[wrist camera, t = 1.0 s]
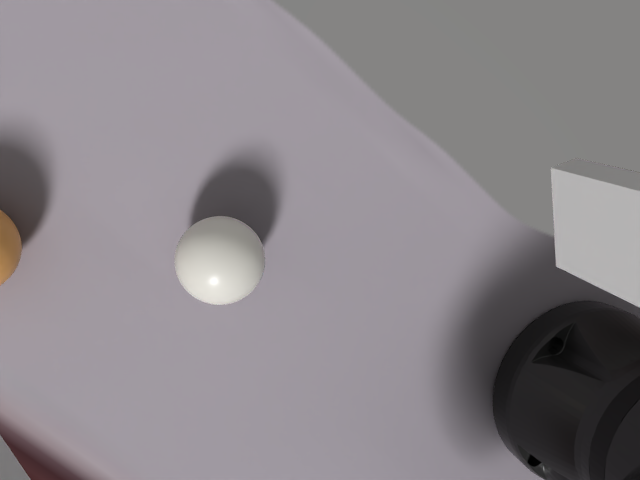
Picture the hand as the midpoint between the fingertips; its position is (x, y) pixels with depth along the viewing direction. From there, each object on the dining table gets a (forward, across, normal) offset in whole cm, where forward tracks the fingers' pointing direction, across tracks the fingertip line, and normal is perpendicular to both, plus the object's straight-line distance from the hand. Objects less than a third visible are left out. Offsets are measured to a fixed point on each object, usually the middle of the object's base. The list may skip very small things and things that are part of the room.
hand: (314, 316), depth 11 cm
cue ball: (+20, +1, +6) cm, 21 cm away
